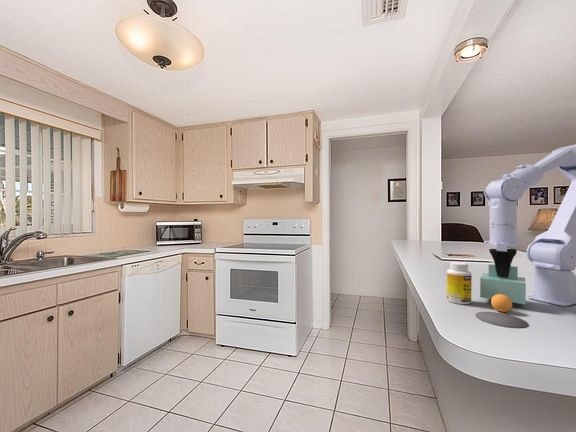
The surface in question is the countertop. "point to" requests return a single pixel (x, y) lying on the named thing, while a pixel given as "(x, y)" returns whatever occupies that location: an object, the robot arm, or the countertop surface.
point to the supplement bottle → (459, 283)
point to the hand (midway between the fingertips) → (502, 276)
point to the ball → (501, 302)
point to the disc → (501, 319)
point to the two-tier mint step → (503, 285)
